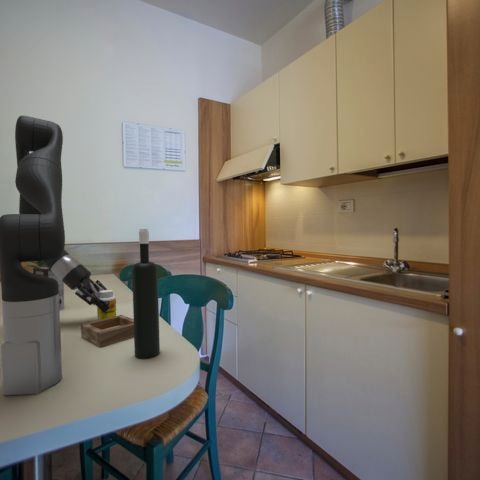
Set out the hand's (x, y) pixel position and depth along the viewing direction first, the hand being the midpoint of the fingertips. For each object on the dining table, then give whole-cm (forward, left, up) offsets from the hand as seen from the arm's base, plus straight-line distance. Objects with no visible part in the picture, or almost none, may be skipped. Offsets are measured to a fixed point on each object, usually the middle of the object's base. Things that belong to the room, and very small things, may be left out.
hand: (110, 307), depth 100 cm
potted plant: (+56, +52, -5) cm, 77 cm away
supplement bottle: (0, +1, -5) cm, 5 cm away
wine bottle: (-27, -18, -5) cm, 33 cm away
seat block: (-13, -5, -5) cm, 15 cm away
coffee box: (+19, +29, -5) cm, 35 cm away
